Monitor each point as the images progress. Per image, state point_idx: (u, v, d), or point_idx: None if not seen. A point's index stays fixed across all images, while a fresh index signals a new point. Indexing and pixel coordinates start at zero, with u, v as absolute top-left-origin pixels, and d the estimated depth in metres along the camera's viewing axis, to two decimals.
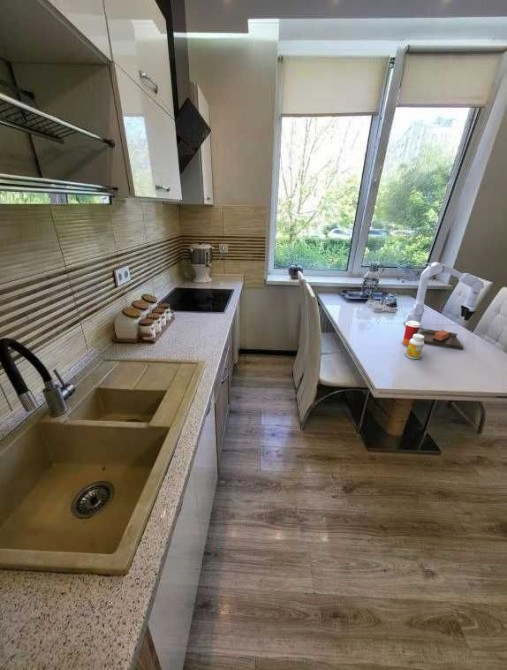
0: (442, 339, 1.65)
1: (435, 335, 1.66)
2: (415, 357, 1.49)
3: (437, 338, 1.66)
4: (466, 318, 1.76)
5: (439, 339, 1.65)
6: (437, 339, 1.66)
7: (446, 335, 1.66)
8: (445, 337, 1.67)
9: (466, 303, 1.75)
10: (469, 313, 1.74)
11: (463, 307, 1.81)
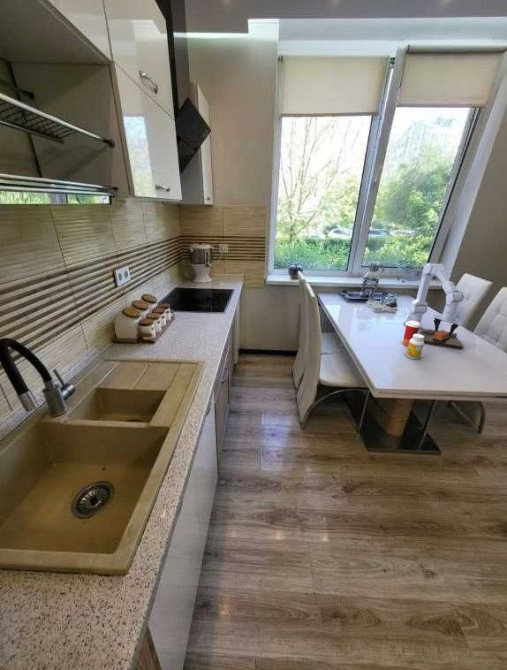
0: (442, 339, 1.65)
1: (435, 335, 1.66)
2: (415, 357, 1.49)
3: (437, 338, 1.66)
4: (451, 333, 1.64)
5: (439, 339, 1.65)
6: (437, 339, 1.66)
7: (446, 335, 1.66)
8: (445, 337, 1.67)
9: (449, 318, 1.61)
10: None
11: (438, 322, 1.67)
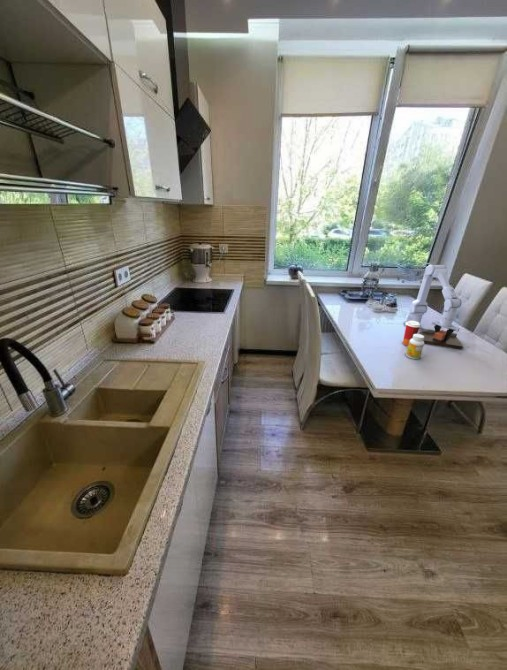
0: (442, 339, 1.65)
1: (435, 335, 1.66)
2: (415, 357, 1.49)
3: (437, 338, 1.66)
4: (446, 338, 1.66)
5: (439, 339, 1.65)
6: (437, 339, 1.66)
7: None
8: None
9: (447, 324, 1.62)
10: None
11: (438, 328, 1.68)
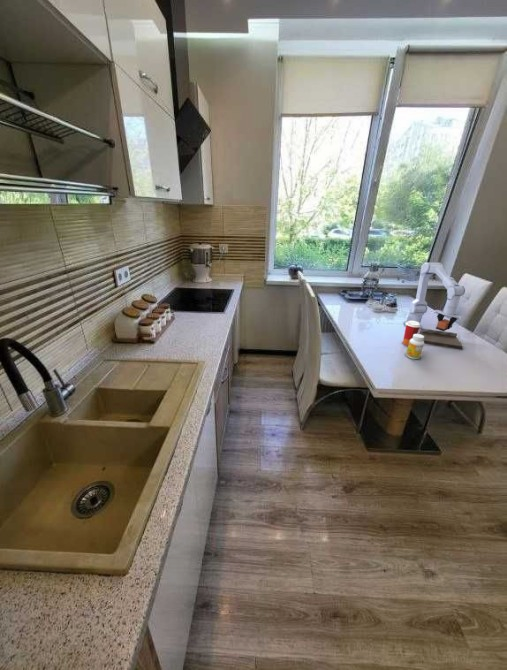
0: (445, 328, 1.63)
1: (438, 324, 1.64)
2: (415, 357, 1.49)
3: (440, 327, 1.64)
4: (449, 327, 1.64)
5: (442, 328, 1.63)
6: (440, 328, 1.64)
7: None
8: None
9: (450, 312, 1.60)
10: None
11: (441, 317, 1.66)
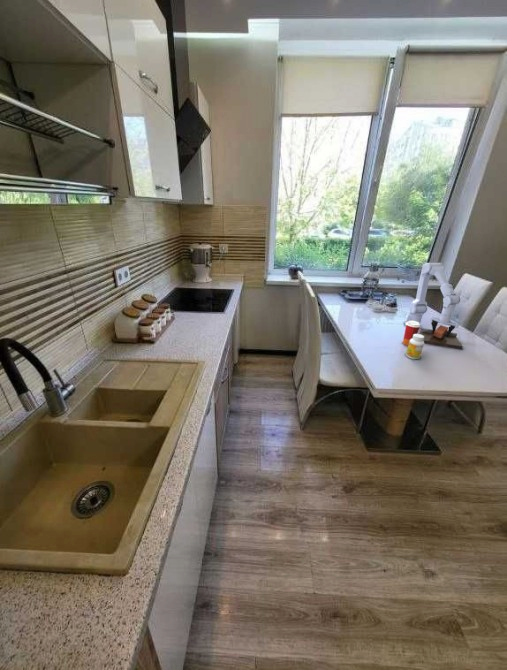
0: (442, 336, 1.68)
1: (435, 333, 1.69)
2: (415, 357, 1.49)
3: (437, 336, 1.69)
4: (448, 334, 1.68)
5: (439, 337, 1.68)
6: (437, 337, 1.69)
7: (445, 331, 1.69)
8: (444, 333, 1.70)
9: (446, 320, 1.65)
10: None
11: (435, 324, 1.71)
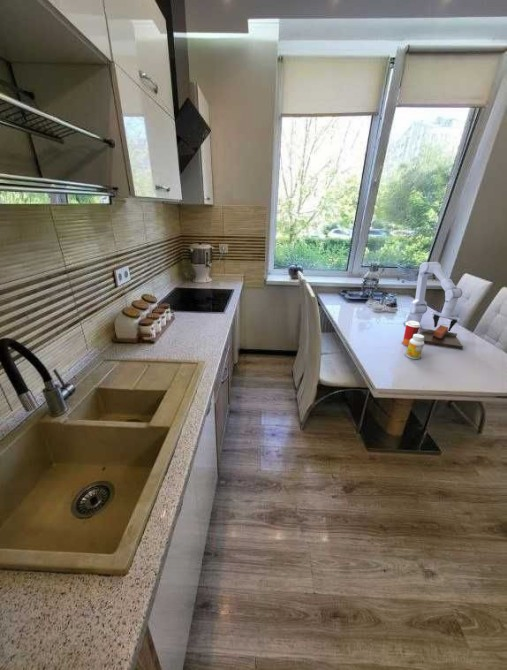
0: (442, 336, 1.68)
1: (435, 333, 1.69)
2: (415, 357, 1.49)
3: (437, 336, 1.69)
4: (450, 329, 1.67)
5: (439, 337, 1.68)
6: (437, 337, 1.69)
7: (445, 331, 1.69)
8: (444, 333, 1.70)
9: (448, 314, 1.64)
10: None
11: (437, 318, 1.70)
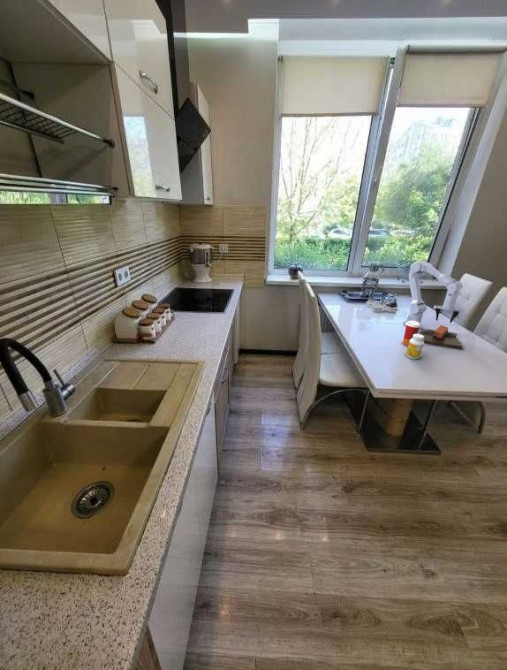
0: (442, 336, 1.68)
1: (435, 333, 1.69)
2: (415, 357, 1.49)
3: (437, 336, 1.69)
4: None
5: (439, 337, 1.68)
6: (437, 337, 1.69)
7: (445, 331, 1.69)
8: (444, 333, 1.70)
9: (451, 307, 1.70)
10: None
11: (439, 311, 1.75)
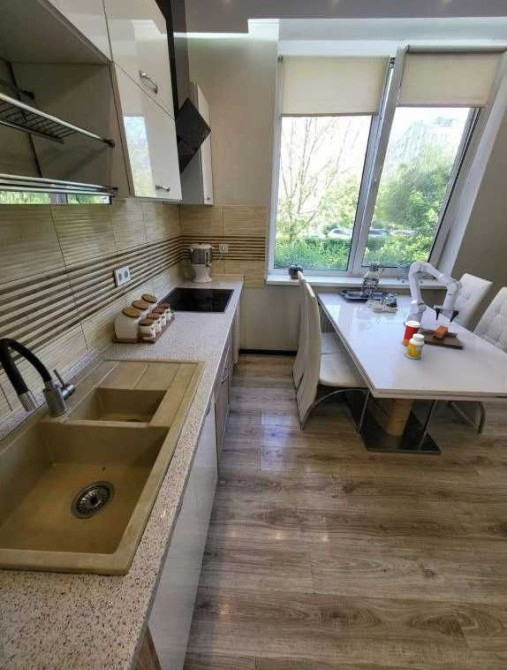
0: (442, 336, 1.68)
1: (435, 333, 1.69)
2: (415, 357, 1.49)
3: (437, 336, 1.69)
4: None
5: (439, 337, 1.68)
6: (437, 337, 1.69)
7: (445, 331, 1.69)
8: (444, 333, 1.70)
9: (452, 307, 1.70)
10: None
11: (439, 311, 1.75)
